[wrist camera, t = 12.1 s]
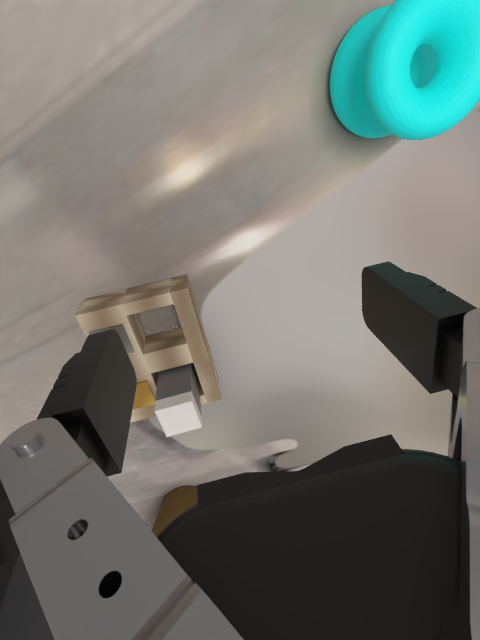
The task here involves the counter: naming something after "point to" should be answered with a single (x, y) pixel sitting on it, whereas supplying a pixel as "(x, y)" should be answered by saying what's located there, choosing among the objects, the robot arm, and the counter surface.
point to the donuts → (408, 69)
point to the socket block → (154, 337)
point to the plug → (178, 400)
